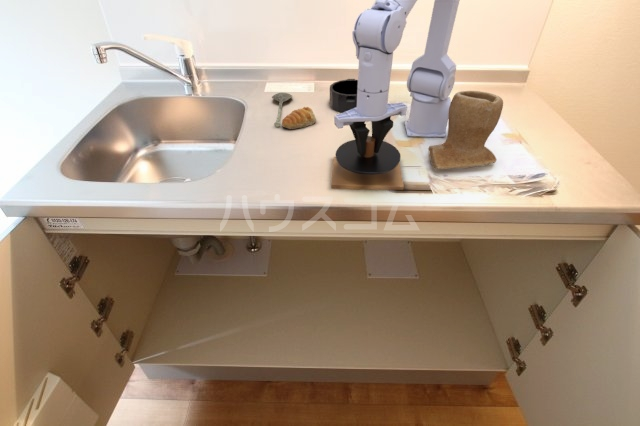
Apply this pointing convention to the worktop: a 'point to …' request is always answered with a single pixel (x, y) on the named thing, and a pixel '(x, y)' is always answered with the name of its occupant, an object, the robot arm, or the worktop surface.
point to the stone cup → (468, 131)
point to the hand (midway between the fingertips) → (368, 152)
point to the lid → (368, 157)
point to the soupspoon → (280, 104)
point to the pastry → (299, 118)
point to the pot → (343, 95)
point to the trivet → (366, 179)
